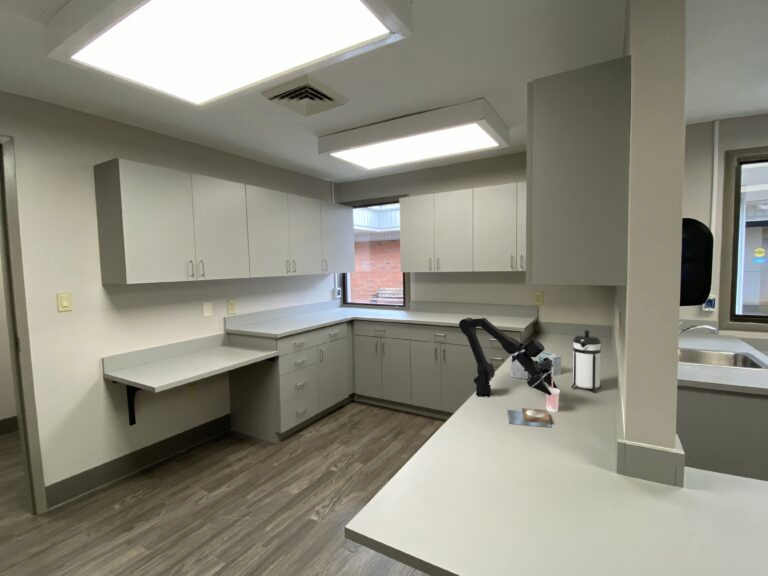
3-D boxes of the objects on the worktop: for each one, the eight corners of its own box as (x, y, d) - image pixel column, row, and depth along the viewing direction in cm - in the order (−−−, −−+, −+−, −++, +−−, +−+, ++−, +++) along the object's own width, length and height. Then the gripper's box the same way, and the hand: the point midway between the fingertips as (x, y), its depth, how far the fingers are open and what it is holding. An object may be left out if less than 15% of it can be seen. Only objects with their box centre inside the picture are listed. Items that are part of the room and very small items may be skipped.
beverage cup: (551, 413, 161) (551, 381, 160) (541, 408, 167) (541, 377, 166) (563, 411, 163) (563, 380, 162) (553, 406, 169) (553, 376, 168)
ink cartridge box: (531, 377, 210) (531, 352, 209) (528, 380, 206) (528, 354, 205) (513, 374, 216) (513, 349, 215) (510, 377, 212) (510, 351, 211)
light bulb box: (538, 371, 221) (538, 353, 220) (546, 369, 224) (546, 351, 223) (553, 376, 212) (553, 357, 211) (561, 374, 214) (561, 355, 214)
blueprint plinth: (509, 423, 152) (509, 418, 152) (507, 410, 166) (507, 405, 165) (551, 427, 148) (551, 422, 148) (546, 413, 161) (546, 408, 161)
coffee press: (611, 392, 183) (612, 332, 181) (578, 393, 183) (579, 333, 181) (592, 381, 200) (593, 326, 198) (562, 382, 201) (563, 327, 198)
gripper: (534, 357, 159) (562, 387, 153) (547, 348, 173) (573, 375, 167) (516, 372, 165) (542, 402, 158) (529, 362, 179) (554, 389, 173)
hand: (553, 391), depth 164 cm, fingers open, 9 cm apart
